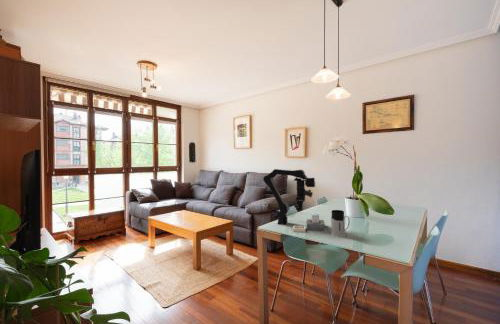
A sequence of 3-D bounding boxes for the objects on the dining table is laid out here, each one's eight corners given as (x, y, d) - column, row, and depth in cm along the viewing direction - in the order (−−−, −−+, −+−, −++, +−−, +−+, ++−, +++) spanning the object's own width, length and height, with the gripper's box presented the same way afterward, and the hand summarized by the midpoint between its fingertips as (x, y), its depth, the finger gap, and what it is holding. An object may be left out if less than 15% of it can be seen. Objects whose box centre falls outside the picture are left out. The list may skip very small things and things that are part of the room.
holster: (293, 231, 158) (292, 228, 158) (293, 228, 165) (293, 225, 165) (305, 232, 156) (305, 229, 156) (305, 229, 163) (305, 226, 163)
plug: (311, 228, 165) (311, 215, 165) (311, 226, 168) (311, 214, 168) (319, 228, 164) (319, 215, 163) (319, 227, 167) (318, 214, 167)
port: (306, 229, 161) (306, 223, 161) (306, 224, 173) (306, 218, 173) (325, 230, 159) (324, 223, 158) (323, 225, 170) (323, 219, 170)
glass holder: (338, 231, 156) (338, 209, 156) (355, 238, 143) (354, 213, 142) (327, 233, 153) (327, 210, 153) (343, 240, 140) (343, 215, 139)
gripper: (312, 188, 161) (312, 211, 162) (311, 185, 180) (312, 205, 180) (295, 188, 164) (296, 210, 164) (296, 185, 182) (297, 205, 183)
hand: (301, 207), depth 173 cm, fingers open, 9 cm apart
